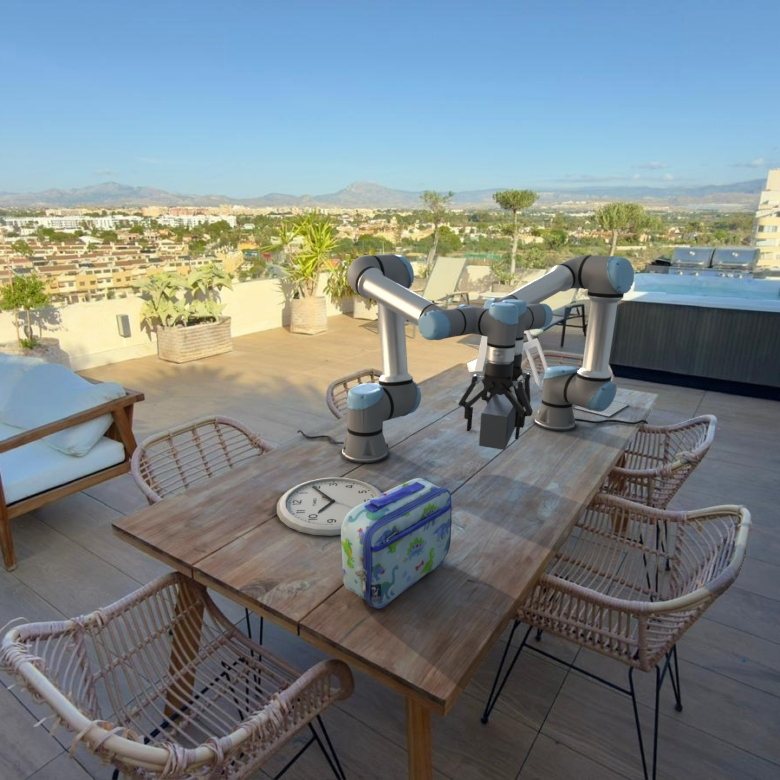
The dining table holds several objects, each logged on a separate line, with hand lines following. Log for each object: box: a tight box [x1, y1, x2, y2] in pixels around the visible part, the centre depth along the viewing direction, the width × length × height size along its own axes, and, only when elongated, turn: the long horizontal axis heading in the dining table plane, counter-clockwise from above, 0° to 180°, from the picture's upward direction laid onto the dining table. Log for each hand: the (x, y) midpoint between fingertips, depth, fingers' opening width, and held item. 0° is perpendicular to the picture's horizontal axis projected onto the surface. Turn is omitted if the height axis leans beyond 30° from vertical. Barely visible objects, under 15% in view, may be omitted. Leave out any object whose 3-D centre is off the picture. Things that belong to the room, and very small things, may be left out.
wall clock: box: [276, 476, 383, 537], centre depth 142 cm, size 30×2×30 cm
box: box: [478, 392, 517, 451], centre depth 155 cm, size 22×7×10 cm, turn 158°
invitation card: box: [573, 400, 629, 418], centre depth 226 cm, size 21×1×15 cm
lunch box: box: [340, 477, 452, 610], centre depth 110 cm, size 26×11×21 cm, turn 134°
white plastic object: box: [466, 330, 549, 391], centre depth 258 cm, size 37×45×31 cm
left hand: (492, 433), depth 148 cm, fingers open, 13 cm apart
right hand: (503, 423), depth 163 cm, fingers closed on box, 7 cm apart
